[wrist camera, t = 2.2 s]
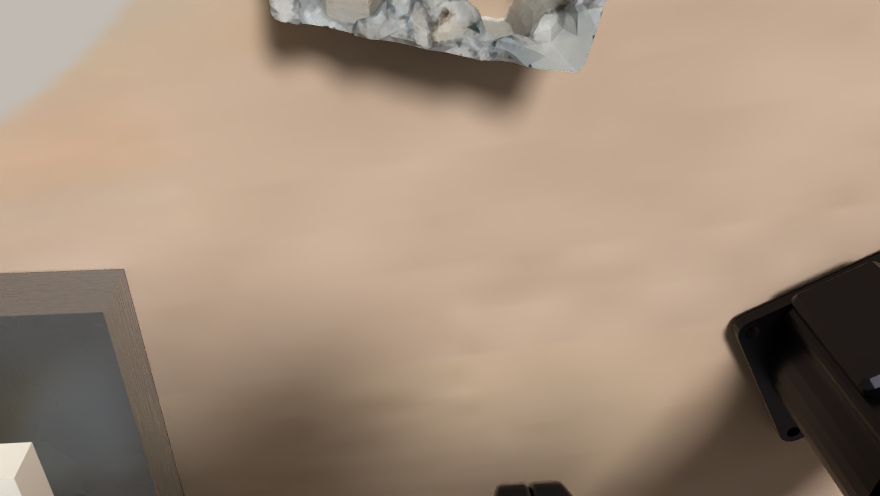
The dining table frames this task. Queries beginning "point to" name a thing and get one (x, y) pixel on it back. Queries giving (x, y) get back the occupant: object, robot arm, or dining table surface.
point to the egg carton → (463, 27)
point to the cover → (22, 471)
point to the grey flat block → (82, 385)
